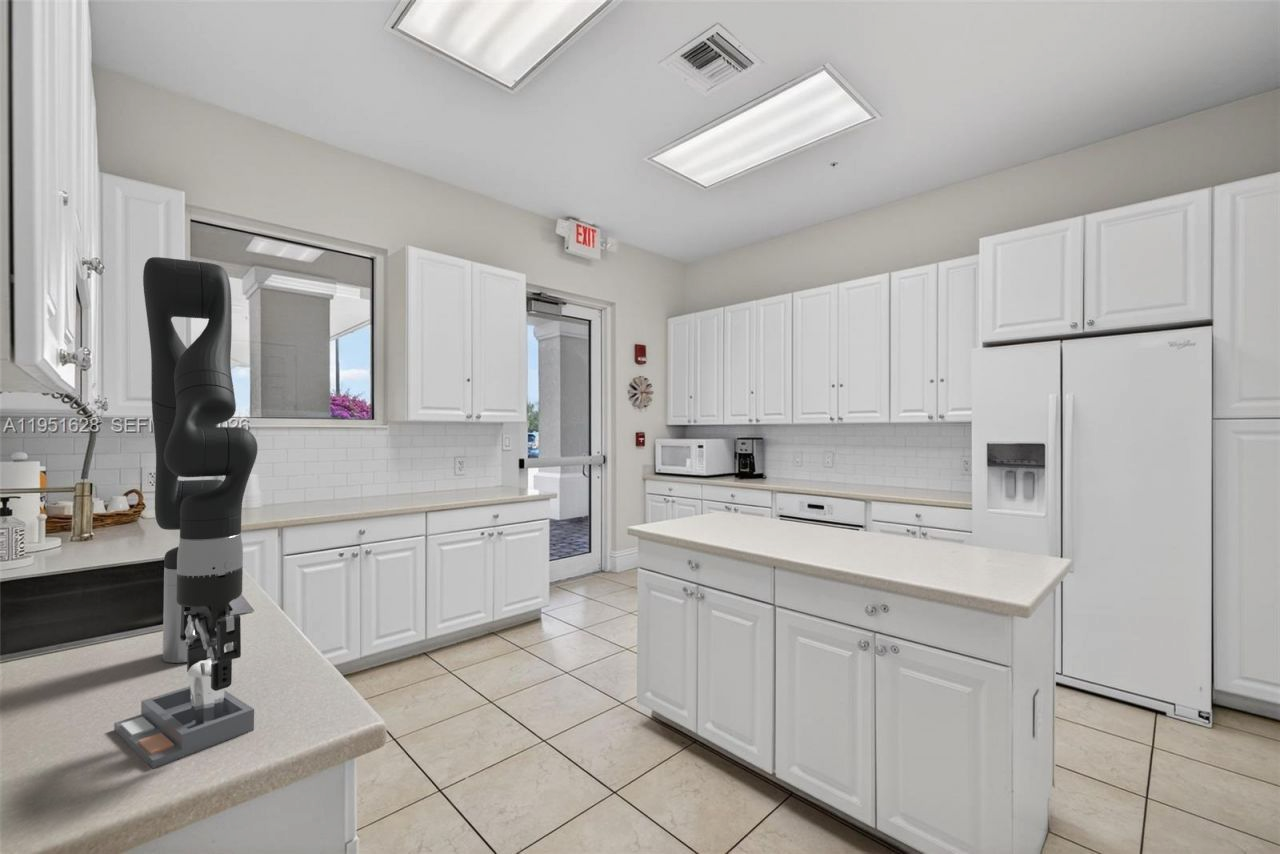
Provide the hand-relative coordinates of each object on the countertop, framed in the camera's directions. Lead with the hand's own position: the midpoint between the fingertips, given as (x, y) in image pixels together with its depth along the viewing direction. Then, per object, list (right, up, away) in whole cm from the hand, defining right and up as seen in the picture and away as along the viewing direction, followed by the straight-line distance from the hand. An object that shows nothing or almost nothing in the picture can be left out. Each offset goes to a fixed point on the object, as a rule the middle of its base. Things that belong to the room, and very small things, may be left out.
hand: (208, 679), depth 81 cm
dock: (-4, -8, 0) cm, 8 cm away
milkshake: (0, -7, 0) cm, 7 cm away
